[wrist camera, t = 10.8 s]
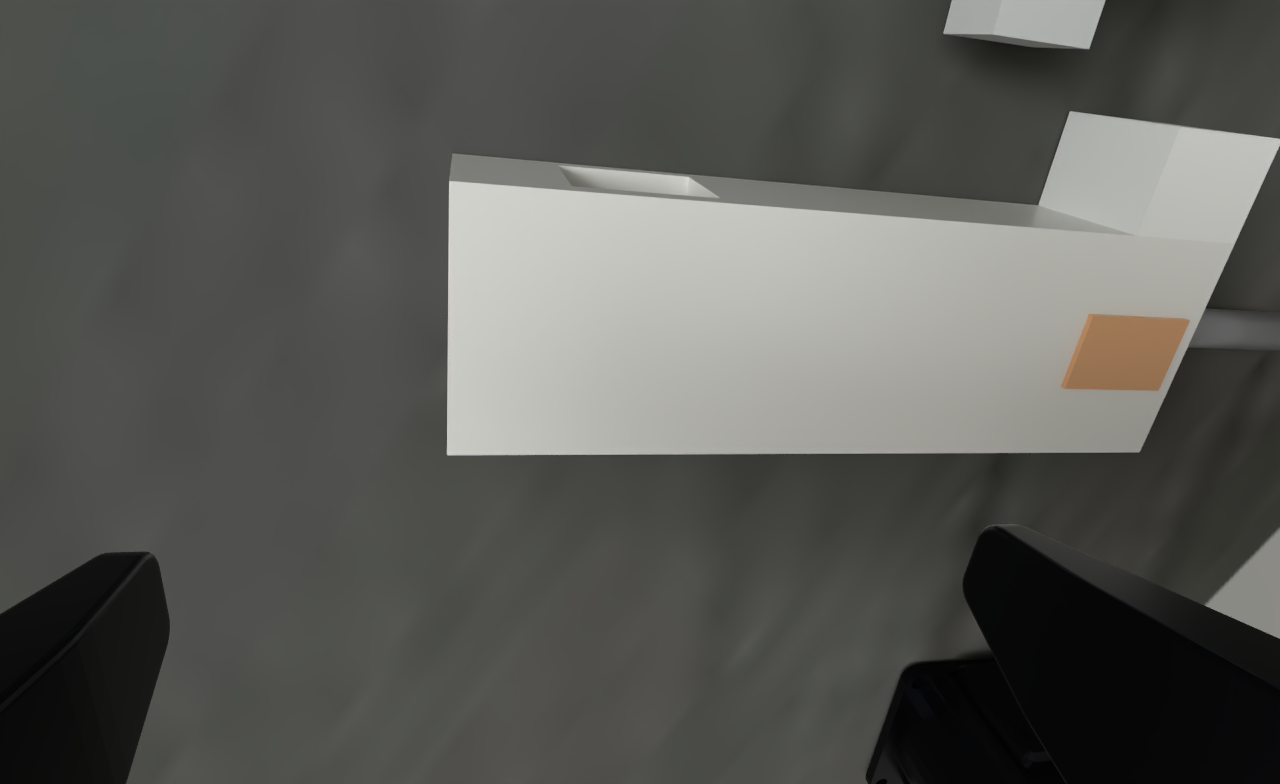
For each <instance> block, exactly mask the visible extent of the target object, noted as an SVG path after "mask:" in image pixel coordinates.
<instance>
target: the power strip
mask: <svg viewBox="0 0 1280 784" xmlns="http://www.w3.org/2000/svg"><path fill="white" fill-rule="evenodd" d="M1279 146H1280V139H1276V138H1269V137H1262V136H1255V135H1247V134H1240V133H1233V132H1225V131H1218V130H1211V129H1203V128H1196V127H1189V126H1182V125H1174V124H1167V123H1160V122H1152V121H1144V120H1136V119H1128V118H1120V117H1112V116H1104V115H1096V114H1088V113H1080V112H1072V111H1070V112H1069V115H1068V118H1067V121H1066V124H1065V127H1064V130H1063V133H1062V136H1061V139H1060V142H1059V145H1058V148H1057V151H1056V154H1055V157H1054V160H1053V163H1052V166H1051V169H1050V172H1049V175H1048V178H1047V181H1046V184H1045V187H1044V190H1043V193H1042V196H1041V199H1040V202H1039V205H1029V204H1018V203H1007V202H995V201H984V200H973V199H961V198H950V197H939V196H927V195H916V194H905V193H894V192H882V191H871V190H860V189H848V188H837V187H826V186H814V185H803V184H792V183H781V182H769V181H758V180H747V179H735V178H724V177H713V176H702V175H690V174H679V173H668V172H656V171H645V170H634V169H622V168H611V167H600V166H589V165H577V164H566V163H555V162H543V161H532V160H521V159H509V158H498V157H487V156H476V155H464V154H453V153H452V161H451V170H450V179H449V275H448V399H447V455H625V454H870V453H1116V452H1140V451H1141V448H1142V446H1143V444H1144V442H1145V440H1146V438H1147V435H1148V433H1149V431H1150V429H1151V427H1152V424H1153V422H1154V420H1155V418H1156V416H1157V413H1158V411H1159V409H1160V407H1161V405H1162V402H1163V400H1164V398H1165V396H1166V394H1167V391H1168V389H1169V387H1170V385H1171V383H1172V380H1173V378H1174V376H1175V374H1176V372H1177V369H1178V367H1179V365H1180V363H1181V361H1182V358H1183V356H1184V354H1185V352H1186V350H1187V348H1215V349H1242V350H1268V351H1277V350H1280V312H1265V311H1246V310H1227V309H1208V308H1206V306H1207V304H1208V301H1209V299H1210V297H1211V295H1212V293H1213V290H1214V288H1215V286H1216V284H1217V282H1218V279H1219V277H1220V275H1221V273H1222V271H1223V268H1224V266H1225V264H1226V262H1227V260H1228V258H1229V255H1230V253H1231V251H1232V249H1233V247H1234V244H1235V242H1236V240H1237V238H1238V236H1239V233H1240V231H1241V229H1242V227H1243V225H1244V222H1245V220H1246V218H1247V216H1248V214H1249V211H1250V209H1251V207H1252V205H1253V203H1254V200H1255V198H1256V196H1257V194H1258V192H1259V189H1260V187H1261V185H1262V183H1263V181H1264V178H1265V176H1266V174H1267V172H1268V170H1269V168H1270V165H1271V163H1272V161H1273V159H1274V157H1275V154H1276V152H1277V150H1278V148H1279Z"/></svg>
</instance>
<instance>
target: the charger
mask: <svg viewBox="0 0 1280 784" xmlns="http://www.w3.org/2000/svg"><path fill="white" fill-rule="evenodd" d="M1104 3H1105V0H952V2H951V6H950V10H949V14H948V18H947V21H946V25H945V29H944V33H943V34H948V35H954V36H961V37H968V38H974V39H981V40H988V41H994V42H1001V43H1008V44H1014V45H1021V46H1028V47H1039V48H1068V49H1089V48H1090V45H1091V42H1092V39H1093V36H1094V33H1095V30H1096V27H1097V24H1098V21H1099V18H1100V15H1101V12H1102V9H1103V6H1104Z"/></svg>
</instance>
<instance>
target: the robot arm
mask: <svg viewBox="0 0 1280 784" xmlns="http://www.w3.org/2000/svg"><path fill="white" fill-rule="evenodd" d="M963 593H964V597H965V599H966V602H967V604H968V606H969V608H970V610H971V612H972V614H973V616H974V618H975V620H976V622H977V624H978V626H979V628H980V630H981V631H982V633H983V635H984V637H985V639H986V641H987V643H988V645H989V647H990V649H991V651H992V653H993V655H994V657H995V659H996V660H983V661H971V662H958V663H946V664H933V665H921V666H913V667H910V668H908V669H907V670H906V671H904V672H903V674H902V675H901V678H900V680H899V683H898V686H897V689H896V692H895V695H894V697H893V700H892V703H891V706H890V709H889V712H888V714H887V717H886V720H885V723H884V726H883V729H882V731H881V734H880V737H879V740H878V743H877V746H876V749H875V751H874V754H873V757H872V760H871V763H870V766H869V768H868V771H867V774H866V780H867V782H868V784H1280V639H1279V638H1277V637H1274V636H1272V635H1270V634H1267V633H1265V632H1263V631H1261V630H1258V629H1256V628H1254V627H1252V626H1249V625H1247V624H1245V623H1242V622H1240V621H1238V620H1236V619H1233V618H1231V617H1229V616H1227V615H1224V614H1222V613H1220V612H1217V611H1215V610H1213V609H1211V608H1209V607H1206V606H1204V605H1202V604H1199V603H1197V602H1195V601H1193V600H1190V599H1188V598H1186V597H1184V596H1181V595H1179V594H1177V593H1175V592H1172V591H1170V590H1168V589H1165V588H1163V587H1161V586H1159V585H1156V584H1154V583H1152V582H1150V581H1147V580H1145V579H1143V578H1141V577H1138V576H1136V575H1134V574H1131V573H1129V572H1127V571H1125V570H1122V569H1120V568H1118V567H1116V566H1113V565H1111V564H1109V563H1107V562H1104V561H1102V560H1100V559H1097V558H1095V557H1093V556H1091V555H1088V554H1086V553H1084V552H1082V551H1079V550H1077V549H1075V548H1072V547H1070V546H1068V545H1066V544H1063V543H1061V542H1059V541H1057V540H1054V539H1052V538H1050V537H1048V536H1045V535H1043V534H1041V533H1038V532H1036V531H1034V530H1032V529H1029V528H1027V527H1025V526H1022V525H1018V524H999V525H989V526H987V527H985V528H984V529H983V530H982V531H981V532H980V534H979V536H978V539H977V542H976V544H975V547H974V550H973V552H972V555H971V558H970V560H969V563H968V566H967V569H966V571H965V574H964V577H963ZM169 632H170V620H169V614H168V609H167V603H166V598H165V593H164V588H163V583H162V578H161V572H160V567H159V564H158V561H157V559H156V558H155V556H154V555H152V554H151V553H149V552H114V553H104V554H100V555H99V556H97V557H95V558H93V559H91V560H90V561H88V562H86V563H85V564H83V565H81V566H80V567H78V568H76V569H75V570H73V571H71V572H70V573H68V574H66V575H65V576H63V577H61V578H60V579H58V580H56V581H55V582H53V583H51V584H50V585H48V586H46V587H45V588H43V589H41V590H40V591H38V592H36V593H35V594H33V595H31V596H30V597H28V598H26V599H25V600H23V601H21V602H20V603H18V604H16V605H15V606H13V607H11V608H10V609H8V610H6V611H5V612H3V613H1V614H0V784H126V782H127V779H128V776H129V773H130V769H131V766H132V763H133V759H134V756H135V752H136V749H137V746H138V742H139V739H140V736H141V732H142V729H143V726H144V722H145V719H146V716H147V712H148V709H149V705H150V702H151V699H152V695H153V692H154V689H155V685H156V682H157V679H158V675H159V672H160V668H161V665H162V662H163V658H164V655H165V652H166V648H167V645H168V640H169Z"/></svg>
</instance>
